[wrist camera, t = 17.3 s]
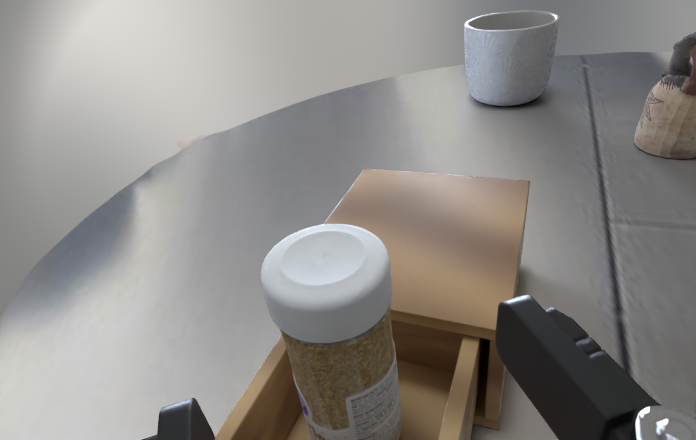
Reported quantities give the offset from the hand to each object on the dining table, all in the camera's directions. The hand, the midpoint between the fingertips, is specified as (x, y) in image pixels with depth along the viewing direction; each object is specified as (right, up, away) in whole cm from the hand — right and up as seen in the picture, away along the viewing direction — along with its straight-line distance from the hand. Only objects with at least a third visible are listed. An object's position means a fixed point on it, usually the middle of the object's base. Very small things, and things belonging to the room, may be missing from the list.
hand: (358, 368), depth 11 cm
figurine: (+36, +12, +38) cm, 53 cm away
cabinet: (+5, -3, +22) cm, 23 cm away
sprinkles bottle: (+1, -9, +11) cm, 14 cm away
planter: (+24, +22, +56) cm, 65 cm away
